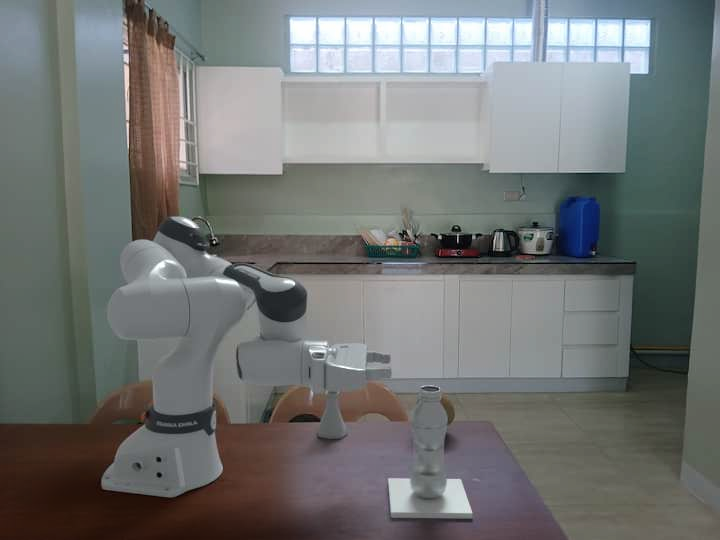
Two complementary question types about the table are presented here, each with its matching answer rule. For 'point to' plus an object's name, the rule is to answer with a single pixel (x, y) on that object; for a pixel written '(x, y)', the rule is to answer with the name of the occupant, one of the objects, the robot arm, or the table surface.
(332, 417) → the flask
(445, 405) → the natural sponge
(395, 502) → the bottle pad
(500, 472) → the table surface
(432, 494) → the plastic bottle
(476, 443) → the table surface
